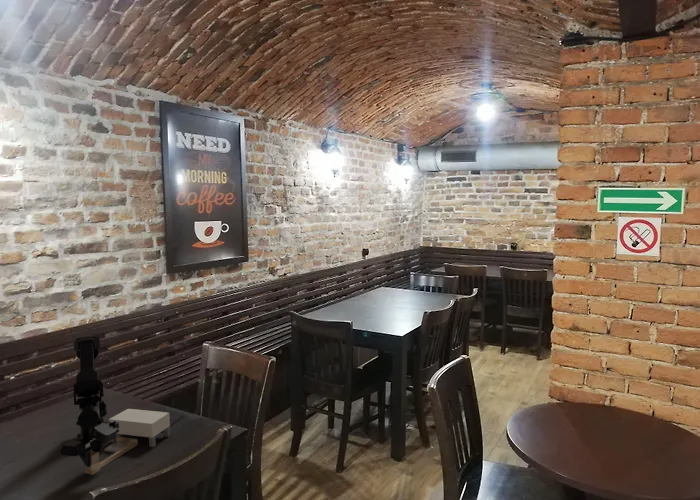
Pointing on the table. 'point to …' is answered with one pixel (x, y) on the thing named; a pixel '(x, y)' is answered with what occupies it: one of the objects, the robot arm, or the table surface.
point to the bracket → (175, 420)
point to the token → (116, 446)
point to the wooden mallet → (96, 464)
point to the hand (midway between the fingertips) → (92, 464)
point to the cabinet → (142, 424)
